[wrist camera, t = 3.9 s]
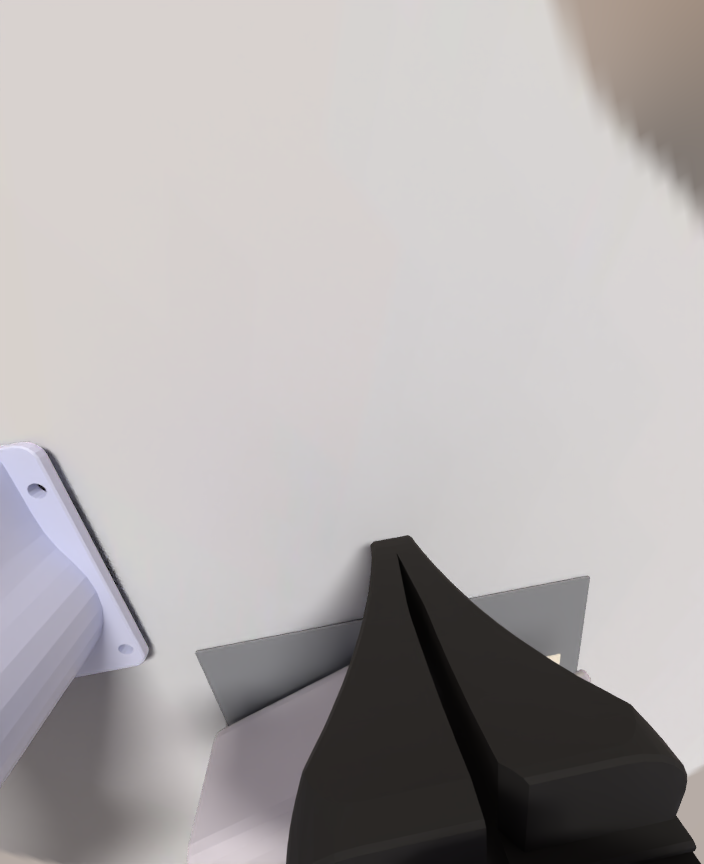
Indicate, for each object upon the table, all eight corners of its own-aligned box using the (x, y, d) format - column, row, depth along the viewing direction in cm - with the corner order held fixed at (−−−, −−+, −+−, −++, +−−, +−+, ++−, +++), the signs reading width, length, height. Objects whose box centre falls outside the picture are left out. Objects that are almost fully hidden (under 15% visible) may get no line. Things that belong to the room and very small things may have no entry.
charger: (579, 683, 17) (326, 800, 18) (517, 563, 13) (218, 717, 15) (673, 818, 12) (329, 958, 14) (615, 686, 9) (176, 887, 11)
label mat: (196, 651, 14) (195, 654, 14) (588, 575, 14) (591, 578, 14) (288, 855, 20) (288, 859, 20) (557, 796, 21) (559, 800, 21)
